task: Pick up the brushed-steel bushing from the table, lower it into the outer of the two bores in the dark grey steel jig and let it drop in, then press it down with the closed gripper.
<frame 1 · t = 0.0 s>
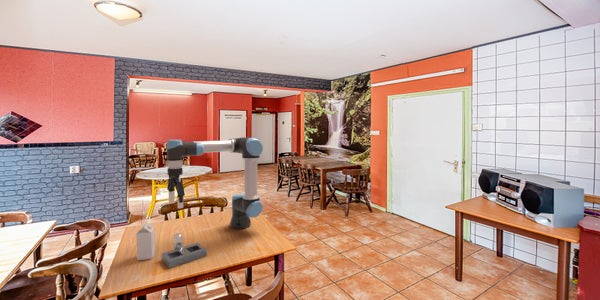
hand: (176, 205, 148), 28 cm above the table, fingers open, 13 cm apart
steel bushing: (178, 249, 155), on the table
jig: (184, 257, 146), on the table
milk carton: (146, 257, 146), on the table
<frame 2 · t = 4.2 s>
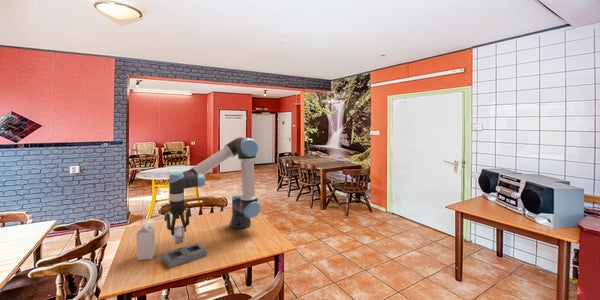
hand: (178, 238, 155), 6 cm above the table, fingers closed on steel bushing, 4 cm apart
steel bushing: (179, 242, 155), point 4 cm above the table, touching gripper
everything else where it was.
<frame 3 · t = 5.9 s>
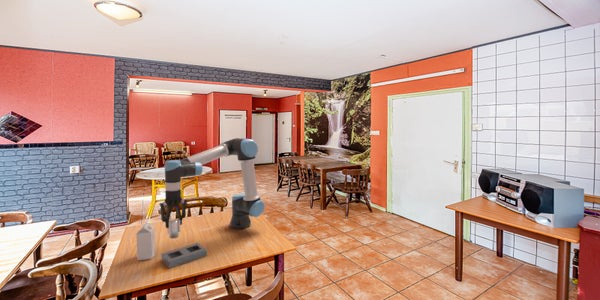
hand: (174, 232, 142), 15 cm above the table, fingers closed on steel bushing, 4 cm apart
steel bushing: (174, 236, 143), point 13 cm above the table, touching gripper
everything else where it was.
when the fingers open (5 cm above the table, at t = 8.2 s): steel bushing drops 3 cm, resting in jig.
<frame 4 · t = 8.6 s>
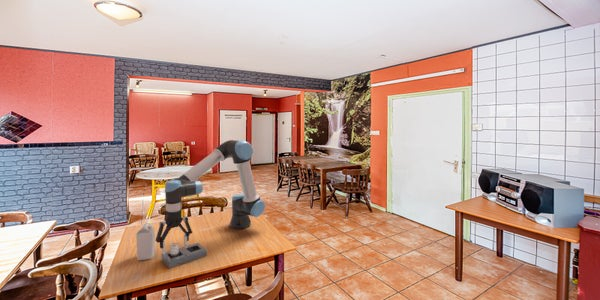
hand: (174, 250, 142), 6 cm above the table, fingers open, 10 cm apart
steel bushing: (174, 260, 142), resting in jig
everything else where it was.
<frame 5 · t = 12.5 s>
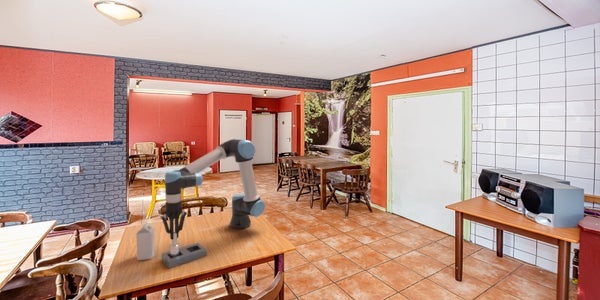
hand: (174, 244, 141), 9 cm above the table, fingers closed
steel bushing: (174, 260, 142), resting in jig, touching gripper
everything else where it was.
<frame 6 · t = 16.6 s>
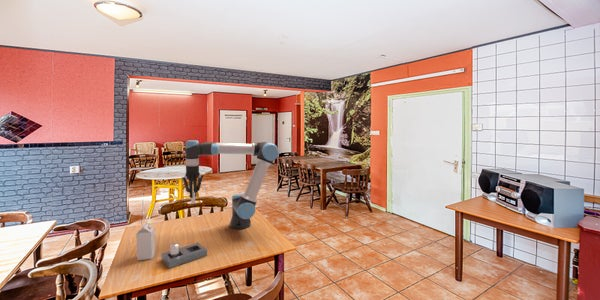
hand: (193, 202, 166), 24 cm above the table, fingers closed
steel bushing: (174, 260, 142), resting in jig
everything else where it was.
at the end: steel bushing 0.2 cm from the target spot on the jig, point 0.0 cm above the jig's base; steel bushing tilted 0°; the gripper is holding nothing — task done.
